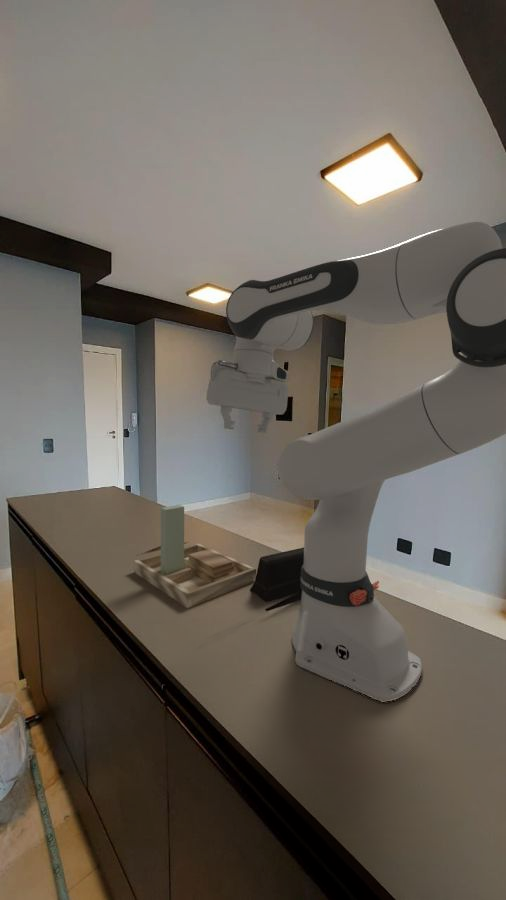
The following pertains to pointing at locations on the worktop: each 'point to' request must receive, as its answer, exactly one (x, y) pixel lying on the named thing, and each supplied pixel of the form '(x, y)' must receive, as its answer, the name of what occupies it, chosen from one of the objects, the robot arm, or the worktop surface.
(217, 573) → the offcut stack
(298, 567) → the barrier
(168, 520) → the sage green plank
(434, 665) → the worktop surface
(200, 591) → the beige wooden tray
